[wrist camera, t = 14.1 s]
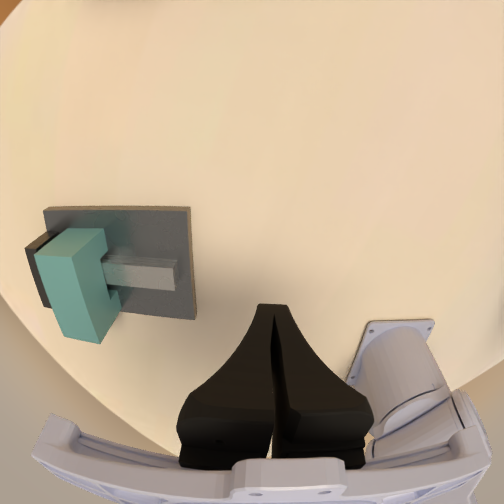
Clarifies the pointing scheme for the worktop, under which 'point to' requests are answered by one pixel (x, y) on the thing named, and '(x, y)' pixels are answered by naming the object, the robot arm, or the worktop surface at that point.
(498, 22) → the worktop surface
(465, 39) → the worktop surface
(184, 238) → the rail base
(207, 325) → the worktop surface
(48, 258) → the block
